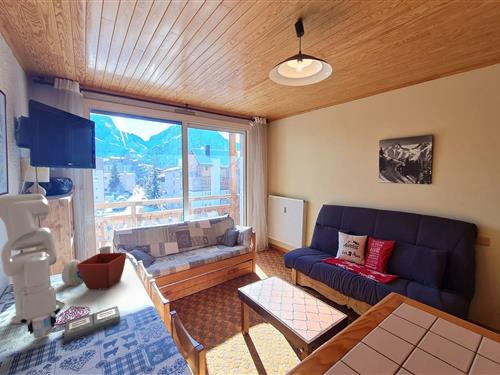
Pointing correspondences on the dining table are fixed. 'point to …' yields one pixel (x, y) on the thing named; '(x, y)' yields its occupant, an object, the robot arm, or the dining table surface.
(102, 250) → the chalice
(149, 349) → the dining table surface
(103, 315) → the panel
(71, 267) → the decorative egg
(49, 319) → the pill bottle
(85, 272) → the plant pot
